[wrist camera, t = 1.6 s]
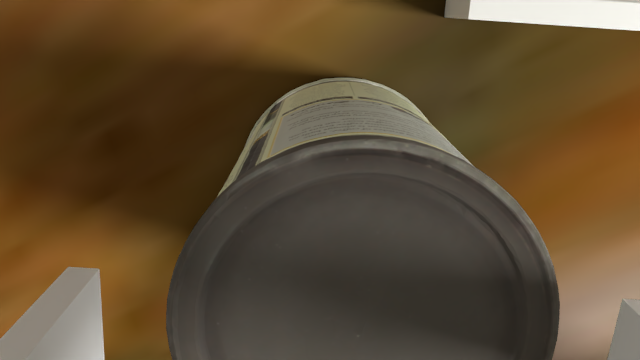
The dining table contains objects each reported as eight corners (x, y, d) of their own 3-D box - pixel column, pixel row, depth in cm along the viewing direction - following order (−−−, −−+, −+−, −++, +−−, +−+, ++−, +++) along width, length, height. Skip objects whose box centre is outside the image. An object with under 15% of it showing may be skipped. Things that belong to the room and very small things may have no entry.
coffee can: (453, 261, 30) (563, 472, 16) (257, 283, 30) (205, 509, 17) (439, 60, 27) (561, 113, 13) (222, 89, 27) (124, 168, 14)
